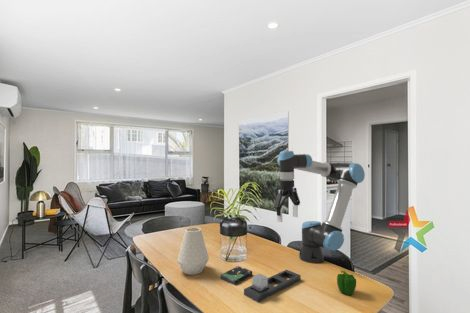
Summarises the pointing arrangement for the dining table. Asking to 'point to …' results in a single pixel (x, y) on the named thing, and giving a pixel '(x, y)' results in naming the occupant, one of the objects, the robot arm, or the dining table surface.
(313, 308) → the dining table surface
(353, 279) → the bell pepper
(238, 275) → the disk drive
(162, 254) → the dining table surface
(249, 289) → the rail
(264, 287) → the block
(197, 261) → the vase
